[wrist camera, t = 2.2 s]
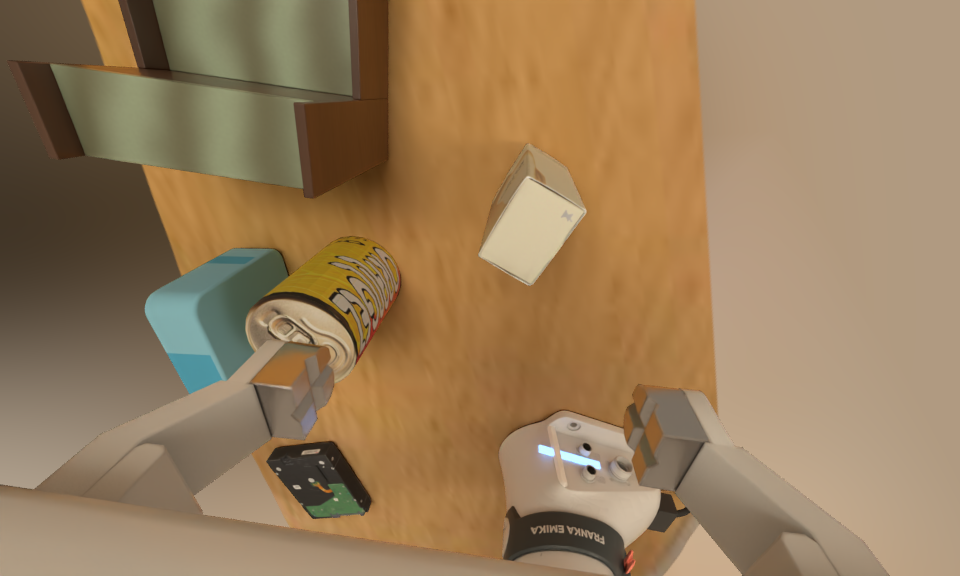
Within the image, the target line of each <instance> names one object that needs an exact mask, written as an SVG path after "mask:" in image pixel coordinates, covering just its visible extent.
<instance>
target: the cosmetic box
mask: <svg viewBox="0 0 960 576" xmlns="http://www.w3.org/2000/svg"><path fill="white" fill-rule="evenodd" d="M585 214H586V209H585V207H584V204H583V202H582V200H581V198H580V195H579V193H578V191H577V189H576V187H575V184H574V182H573V180H572V177H571V175H570V173H569V171H568V168H567V167H566V166H564V165H563V164H561V163H560V162H558V161H557V160H556V159H554V158H553V157H551V156H549V155H548V154H546V153H545V152H543V151H541V150H540V149H538V148H536V147H535V146H533V145H531V144H529V143H527V144H526V145H525V147H524V148H523V150H522V151H521V153H520V154H519V156H518V158H517V159H516V161H515V162H514V164H513V166H512V167H511V169H510V171H509V172H508V174H507V176H506V178H505V179H504V181H503V183H502V185H501V187H500V189H499V190H498V192H497V194H496V196H495V198H494V200H493V202H492V206H491V209H490V214H489V217H488V221H487V225H486V228H485V232H484V236H483V239H482V243H481V247H480V250H479V254H478V256H479V257H480V258H482V259H484V260H486V261H487V262H489V263H490V264H492V265H494V266H495V267H497V268H499V269H500V270H502V271H504V272H506V273H507V274H509V275H511V276H512V277H514V278H516V279H518V280H519V281H521V282H523V283H525V284H526V285H533V284H534V282H535V281H536V280H537V278H538V277H539V276H540V274H541V273H542V272H543V270H544V269H545V268H546V266H547V265H548V264H549V262H550V261H551V260H552V259H553V257H554V256H555V255H556V253H557V252H558V251H559V249H560V248H561V246H562V245H563V244H564V242H565V241H566V239H567V238H568V237H569V235H570V234H571V233H572V231H573V230H574V229H575V227H576V226H577V225H578V223H579V222H580V220H581V219H582V218H583V216H584V215H585Z"/></svg>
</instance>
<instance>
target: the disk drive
mask: <svg viewBox="0 0 960 576" xmlns="http://www.w3.org/2000/svg"><path fill="white" fill-rule="evenodd" d="M266 462H267V463H268V464H269V466H270V468H271V469H272V470H273V471H274V472H275V473H276V475H277V476H278V477H279V479H281V481H282V482H283V483H284V484H285V486H286V487H287V488H288V489H289V490H290V492H291V493H292V494H293V496H295V498H296V499H297V500H298V502H299V503H300V504H301V505H302V506H303V508H304V509H305V511H306V512H308V514H309V515H310V516H311V518H312V519H318V518H332V517H333V518H338V517H340V516H341V515H342V516H344V515H347V516H348V515H349V516H350V515H359V514H360V515H361V516H363V515H364V514H365V512H368V510H369V507H370V504H371V500H370V497H369V495H368V494H367V492H366V491H365V489H364V488H363V486H362V484H361V483H360V481H359V480H358V478H357V477H356V476H355V474H354V473H353V471H352V470H351V468H350V466H349V465H348V463H347V462H346V461H345V459H344V458H343V456H342V454H341V453H340V452H339V450H338V449H337V447H336V446H335V445H334V444H333V442H322V443H313V444H304V445H295V446H286V447H280V448H275V449H274V451H273V452H272V454H271V455H270V457H269V458H268V460H267V461H266Z"/></svg>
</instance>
